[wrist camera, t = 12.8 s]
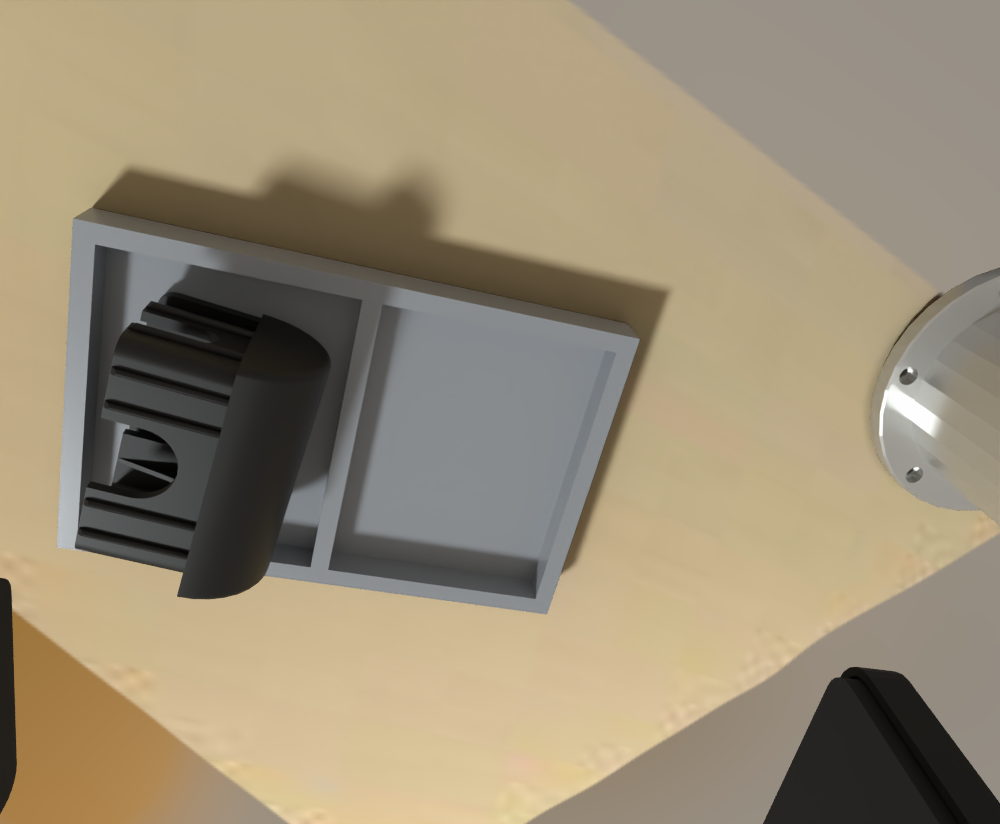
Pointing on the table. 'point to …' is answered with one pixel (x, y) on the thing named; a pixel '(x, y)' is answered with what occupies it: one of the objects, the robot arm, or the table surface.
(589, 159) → the table surface
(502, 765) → the table surface
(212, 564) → the end cap
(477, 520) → the divided grey tray
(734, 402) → the table surface
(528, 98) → the table surface
